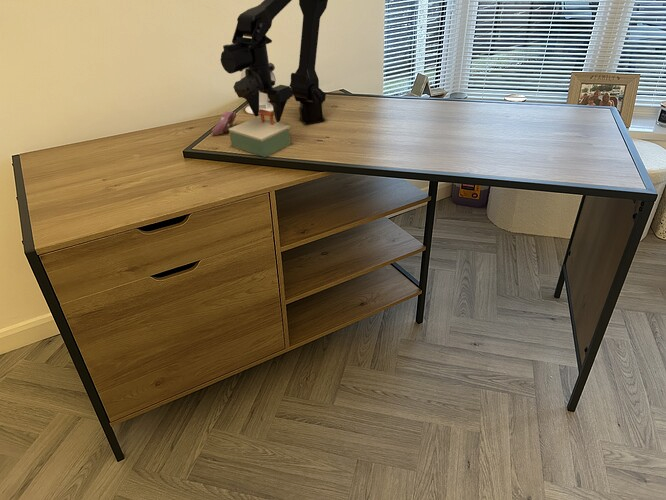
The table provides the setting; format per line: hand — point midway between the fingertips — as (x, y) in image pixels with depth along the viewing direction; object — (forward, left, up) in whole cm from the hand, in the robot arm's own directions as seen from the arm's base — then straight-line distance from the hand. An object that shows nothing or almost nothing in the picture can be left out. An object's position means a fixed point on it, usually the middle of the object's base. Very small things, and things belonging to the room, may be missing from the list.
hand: (267, 118), depth 140 cm
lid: (+3, +2, -2) cm, 4 cm away
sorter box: (+4, +2, -7) cm, 8 cm away
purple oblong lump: (+11, -16, -7) cm, 21 cm away
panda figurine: (-5, -30, -7) cm, 31 cm away
